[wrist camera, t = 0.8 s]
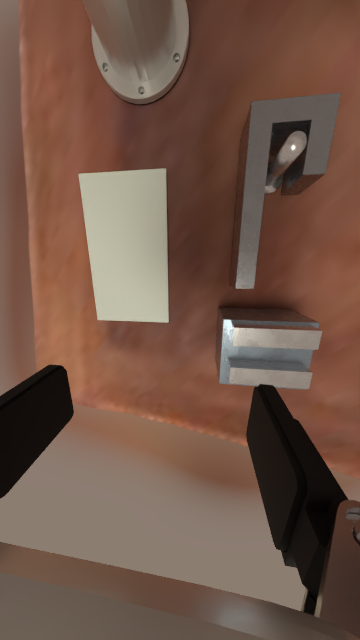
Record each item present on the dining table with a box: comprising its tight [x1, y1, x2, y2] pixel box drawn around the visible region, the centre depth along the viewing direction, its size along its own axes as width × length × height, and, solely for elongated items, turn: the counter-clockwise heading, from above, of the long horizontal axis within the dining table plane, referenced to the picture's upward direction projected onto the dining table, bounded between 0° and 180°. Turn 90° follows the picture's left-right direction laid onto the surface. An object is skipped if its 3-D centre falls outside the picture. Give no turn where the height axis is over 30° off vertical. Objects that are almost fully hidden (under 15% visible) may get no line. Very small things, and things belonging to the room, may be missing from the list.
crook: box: [229, 93, 341, 289], centre depth 25 cm, size 20×9×6 cm, turn 0°
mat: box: [79, 168, 169, 322], centre depth 31 cm, size 24×14×1 cm, turn 0°
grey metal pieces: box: [215, 131, 322, 389], centre depth 25 cm, size 32×12×10 cm, turn 0°
